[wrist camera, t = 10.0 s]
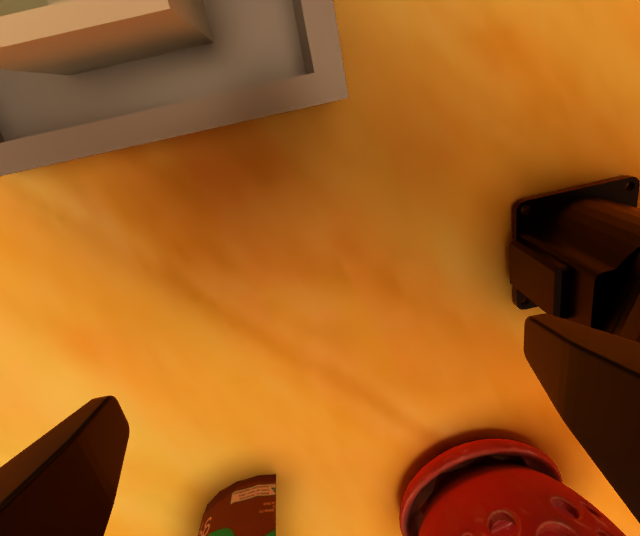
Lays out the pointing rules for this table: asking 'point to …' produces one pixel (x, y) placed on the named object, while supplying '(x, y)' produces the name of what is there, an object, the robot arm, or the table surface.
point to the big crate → (178, 86)
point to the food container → (242, 509)
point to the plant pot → (497, 495)
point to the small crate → (95, 32)
